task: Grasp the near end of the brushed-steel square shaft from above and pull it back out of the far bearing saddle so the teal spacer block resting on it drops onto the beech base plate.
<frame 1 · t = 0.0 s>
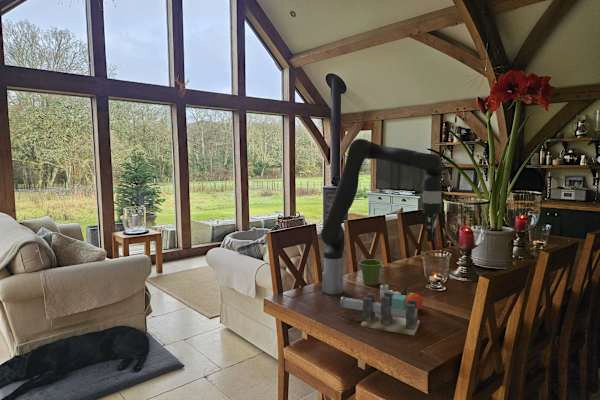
hand: (431, 239, 167), 29 cm above the table, tool pointing down, fingers open, 8 cm apart
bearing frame: (390, 324, 152), on the table
spacer: (399, 307, 149), point 7 cm above the table, touching shaft
valve: (393, 301, 177), on the table
plant pot: (370, 283, 201), on the table
shaft: (377, 307, 153), point 6 cm above the table, slide at 0.0 cm, touching spacer
clementine: (412, 309, 166), on the table
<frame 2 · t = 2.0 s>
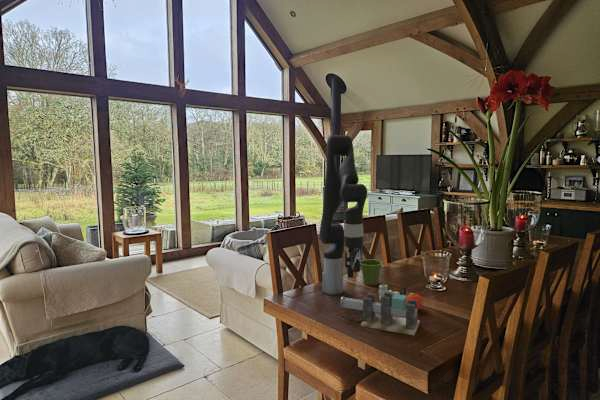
hand: (353, 274, 156), 18 cm above the table, tool pointing down, fingers open, 8 cm apart
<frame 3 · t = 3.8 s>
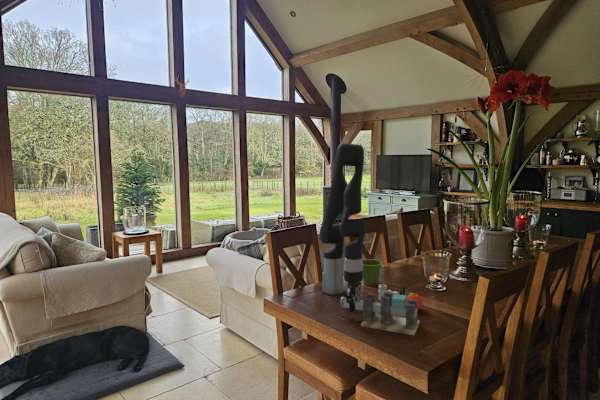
hand: (353, 310, 158), 3 cm above the table, tool pointing down, fingers closed on shaft, 3 cm apart
shaft: (377, 307, 153), point 6 cm above the table, slide at 0.0 cm, touching gripper, spacer
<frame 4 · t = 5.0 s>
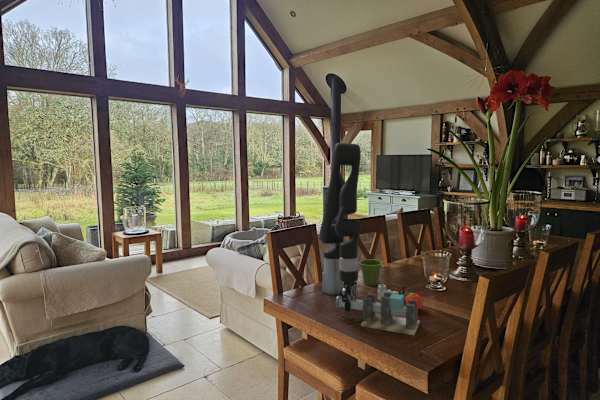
hand: (349, 309, 159), 3 cm above the table, tool pointing down, fingers closed on shaft, 3 cm apart
spacer: (396, 306, 150), point 8 cm above the table
shaft: (372, 306, 154), point 6 cm above the table, slide at 1.9 cm, touching gripper
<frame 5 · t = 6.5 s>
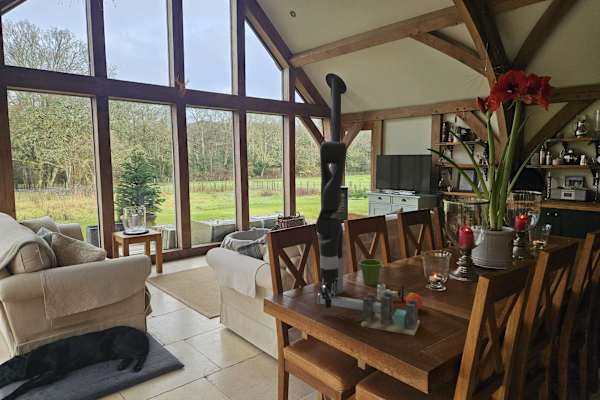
hand: (329, 306, 162), 3 cm above the table, tool pointing down, fingers closed on shaft, 3 cm apart
spacer: (395, 317, 150), point 3 cm above the table, tilted 90°, touching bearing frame
shaft: (352, 303, 158), point 6 cm above the table, slide at 10.3 cm, touching gripper
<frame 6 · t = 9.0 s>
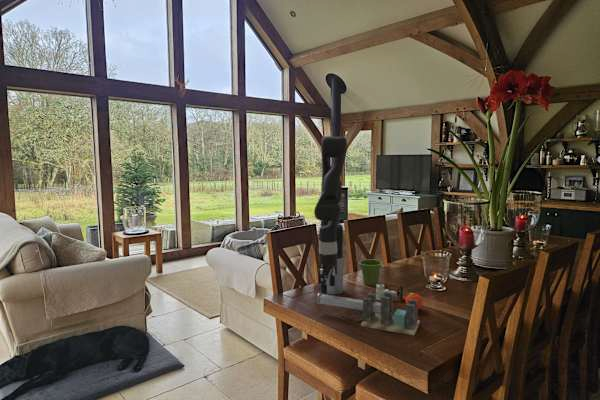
hand: (328, 289, 162), 10 cm above the table, tool pointing down, fingers open, 8 cm apart
shaft: (351, 303, 158), point 6 cm above the table, slide at 10.5 cm
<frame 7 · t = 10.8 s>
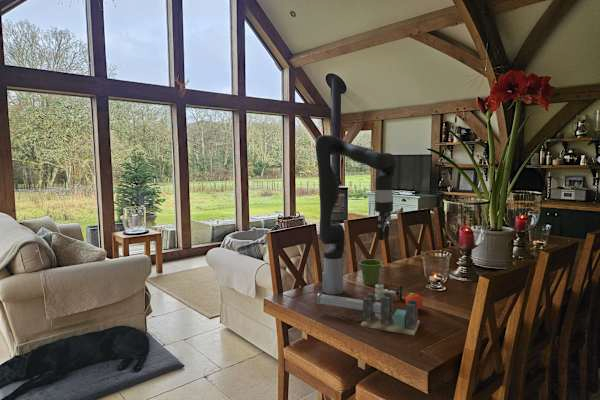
hand: (383, 238, 167), 30 cm above the table, tool pointing down, fingers open, 8 cm apart
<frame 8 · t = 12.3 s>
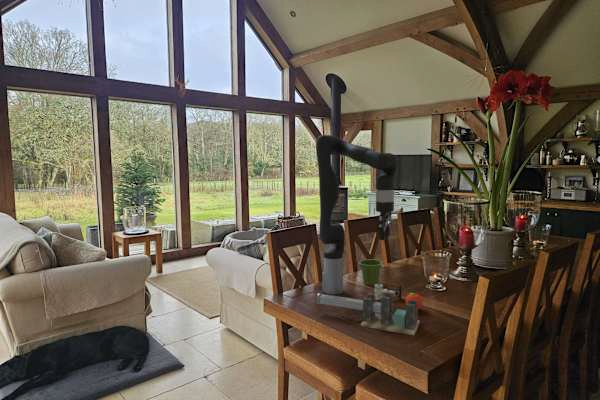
hand: (384, 237, 167), 30 cm above the table, tool pointing down, fingers open, 8 cm apart
at the end: shaft slide at 10.5 cm; spacer point 3.2 cm above the table; spacer 1.9 cm from the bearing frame (horizontally) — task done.
